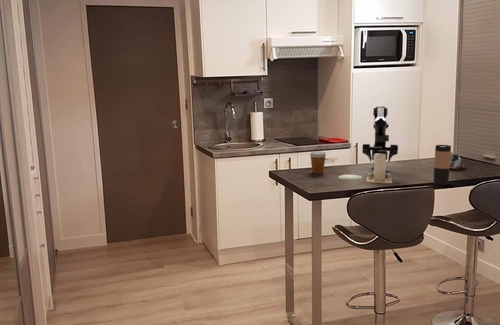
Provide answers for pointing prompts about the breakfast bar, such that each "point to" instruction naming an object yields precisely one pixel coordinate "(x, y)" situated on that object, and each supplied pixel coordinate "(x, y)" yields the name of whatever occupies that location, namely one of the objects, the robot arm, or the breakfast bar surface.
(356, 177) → the mat
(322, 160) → the disposable coffee cup
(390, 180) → the wooden tray
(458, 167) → the lucky cat figurine
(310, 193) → the breakfast bar surface
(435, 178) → the travel mug
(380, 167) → the jug
